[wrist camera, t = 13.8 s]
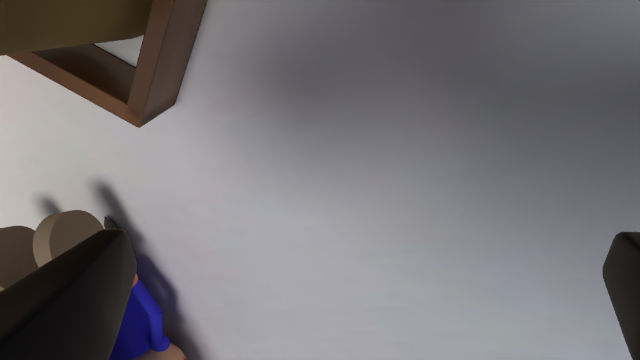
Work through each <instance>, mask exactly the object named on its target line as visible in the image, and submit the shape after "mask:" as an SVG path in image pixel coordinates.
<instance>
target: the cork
mask: <svg viewBox="0 0 640 360" xmlns="http://www.w3.org/2000/svg"><path fill="white" fill-rule="evenodd" d="M152 1H153V0H0V56H1V55H9V54H16V53H24V52H32V51H39V50H47V49H55V48H62V47H70V46H78V45H85V44H93V43H101V42H108V41H116V40H124V39H131V38H135V37H138V36H141V35H144V34H145V30H146V26H147V22H148V18H149V14H150V10H151V6H152Z"/></svg>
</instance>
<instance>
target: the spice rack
mask: <svg viewBox="0 0 640 360" xmlns="http://www.w3.org/2000/svg"><path fill="white" fill-rule="evenodd" d="M206 1H207V0H153V1H152V6H151V10H150V14H149V18H148V22H147V26H146V30H145V34H144V38H143V42H142V46H141V50H140V54H139V58H138V62H137V66H136V68H134V67H132V66H131V65H129V64H127V63H125V62H123V61H122V60H120V59H118V58H116V57H114V56H113V55H111V54H109V53H107V52H105V51H104V50H102V49H100V48H98V47H96V46H95V45H93V44H85V45H78V46H70V47H62V48H55V49H47V50H39V51H32V52H24V53H16V54H9V55H7V56H9V57H11V58H13V59H15V60H16V61H18V62H20V63H22V64H24V65H25V66H27V67H29V68H31V69H33V70H35V71H36V72H38V73H40V74H42V75H44V76H45V77H47V78H49V79H51V80H53V81H54V82H56V83H58V84H60V85H62V86H64V87H65V88H67V89H69V90H71V91H73V92H74V93H76V94H78V95H80V96H82V97H84V98H85V99H87V100H89V101H91V102H93V103H94V104H96V105H98V106H100V107H102V108H103V109H105V110H107V111H109V112H111V113H113V114H114V115H116V116H118V117H120V118H122V119H123V120H125V121H127V122H129V123H131V124H132V125H134V126H136V127H138V128H140V127H142V126H143V125H145V124H146V123H148V122H149V121H151V120H152V119H154V118H155V117H157V116H158V115H160V114H161V113H163V112H164V111H166V110H167V109H169V108H170V107H172V106H173V105H174V104H175V100H176V97H177V94H178V91H179V88H180V84H181V81H182V78H183V75H184V72H185V68H186V65H187V62H188V59H189V56H190V52H191V49H192V46H193V43H194V40H195V36H196V33H197V30H198V27H199V24H200V20H201V17H202V14H203V11H204V8H205V4H206Z"/></svg>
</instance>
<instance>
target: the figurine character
mask: <svg viewBox="0 0 640 360" xmlns="http://www.w3.org/2000/svg"><path fill="white" fill-rule="evenodd" d="M104 226H105V229H116V227H115V225H114V223H113V222H112V221H110V220H109V219H108V218H107V217H105V220H104ZM101 229H104V228H103V226H102V225H101V223H100V222H99V221H98V220H97V219H96V218H95V217H94V216H93V215H91V214H89V213H87V212H85V211H81V210H73V211H67V212H62V213H56V214H53V215H50V216H48V217H47V218H45V219H44V220H43V221H42V222H41V223H40V224H39V226H38V227H37V229H36V231H34V230H32V229H30V228H28V227H24V226H11V227H5V228H0V291H2V290H3V289H5V288H7V287H8V286H10V285H11V284H13V283H15V282H16V281H18V280H20V279H21V278H23V277H24V276H26V275H28V274H29V273H31V272H33V271H34V270H36V269H37V268H39V267H41V266H42V265H44V264H46V263H47V262H49V261H50V260H52V259H54V258H55V257H57V256H59V255H60V254H62V253H64V252H65V251H67V250H68V249H70V248H72V247H73V246H75V245H77V244H78V243H80V242H81V241H83V240H85V239H86V238H88V237H90V236H91V235H93V234H94V233H96V232H98V231H99V230H101ZM108 360H187V358H186V356H185V354H184V353H183V352H182V351H181V350H180V349H179V348H178V347H177V346H176V345H174V344H173V343H171V342H170V341H169V339H168V337H167V336H165V335H164V334H163V327H162V310H161V309H160V307H159V306H158V304H157V303H156V302H155V300H154V299H153V297H152V296H151V294H150V293H149V292H148V290H147V289H146V287H145V286H144V285H143V283H142V282H141V280H140V279H138V276H137V274H136V276H135V279H134V282H133V286H132V289H131V292H130V296H129V299H128V302H127V305H126V309H125V312H124V315H123V319H122V322H121V325H120V329H119V332H118V335H117V338H116V341H115V344H114V347H113V349H112V352H111V354H110V357H109V359H108Z"/></svg>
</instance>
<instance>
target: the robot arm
mask: <svg viewBox="0 0 640 360" xmlns="http://www.w3.org/2000/svg"><path fill="white" fill-rule="evenodd" d="M136 271H137V262H136V258H135V255H134V252H133V249H132V246H131V243H130V240H129V237H128V235H127V233H126V231H125V230H123V229H101V230H99V231H98V232H96V233H94V234H93V235H91V236H90V237H88V238H86V239H85V240H83V241H81V242H80V243H78V244H77V245H75V246H73V247H72V248H70V249H68V250H67V251H65V252H64V253H62V254H60V255H59V256H57V257H55V258H54V259H52V260H50V261H49V262H47V263H46V264H44V265H42V266H41V267H39V268H37V269H36V270H34V271H33V272H31V273H29V274H28V275H26V276H24V277H23V278H21V279H20V280H18V281H16V282H15V283H13V284H11V285H10V286H8V287H7V288H5V289H3V290H2V291H0V360H108V359H109V357H110V354H111V352H112V349H113V347H114V344H115V341H116V338H117V335H118V332H119V329H120V325H121V322H122V319H123V315H124V312H125V309H126V305H127V302H128V299H129V296H130V292H131V289H132V286H133V282H134V279H135V276H136ZM603 278H604V282H605V285H606V287H607V290H608V293H609V296H610V299H611V302H612V304H613V307H614V310H615V313H616V316H617V319H618V321H619V324H620V327H621V330H622V333H623V335H624V338H625V341H626V344H627V346H628V349H629V352H630V354H631V357H632V359H633V360H640V232H620V233H618V234H617V235H616V236H615V238H614V240H613V242H612V245H611V247H610V250H609V252H608V255H607V257H606V260H605V262H604V265H603Z"/></svg>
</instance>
